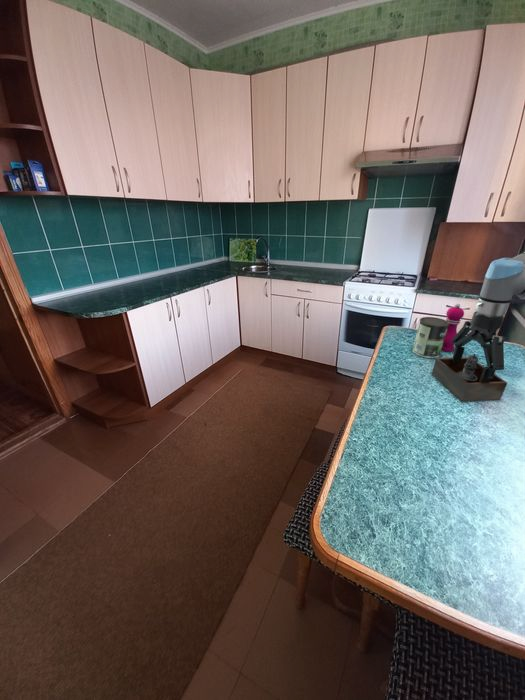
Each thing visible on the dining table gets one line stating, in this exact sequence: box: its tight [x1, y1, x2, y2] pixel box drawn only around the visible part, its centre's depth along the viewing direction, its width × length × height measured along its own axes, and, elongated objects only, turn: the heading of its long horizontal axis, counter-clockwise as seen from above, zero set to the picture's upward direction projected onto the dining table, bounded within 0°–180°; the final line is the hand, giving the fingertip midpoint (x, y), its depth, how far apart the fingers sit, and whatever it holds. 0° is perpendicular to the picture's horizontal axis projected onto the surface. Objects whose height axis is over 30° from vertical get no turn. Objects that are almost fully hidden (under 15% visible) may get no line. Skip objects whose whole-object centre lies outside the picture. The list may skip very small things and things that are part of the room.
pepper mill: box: [441, 303, 465, 353], centre depth 120 cm, size 7×7×20 cm
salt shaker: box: [457, 353, 479, 383], centre depth 96 cm, size 6×6×12 cm
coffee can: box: [412, 316, 449, 359], centre depth 118 cm, size 10×10×14 cm
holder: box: [431, 356, 508, 403], centre depth 98 cm, size 13×17×7 cm
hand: (468, 373), depth 97 cm, fingers open, 13 cm apart
